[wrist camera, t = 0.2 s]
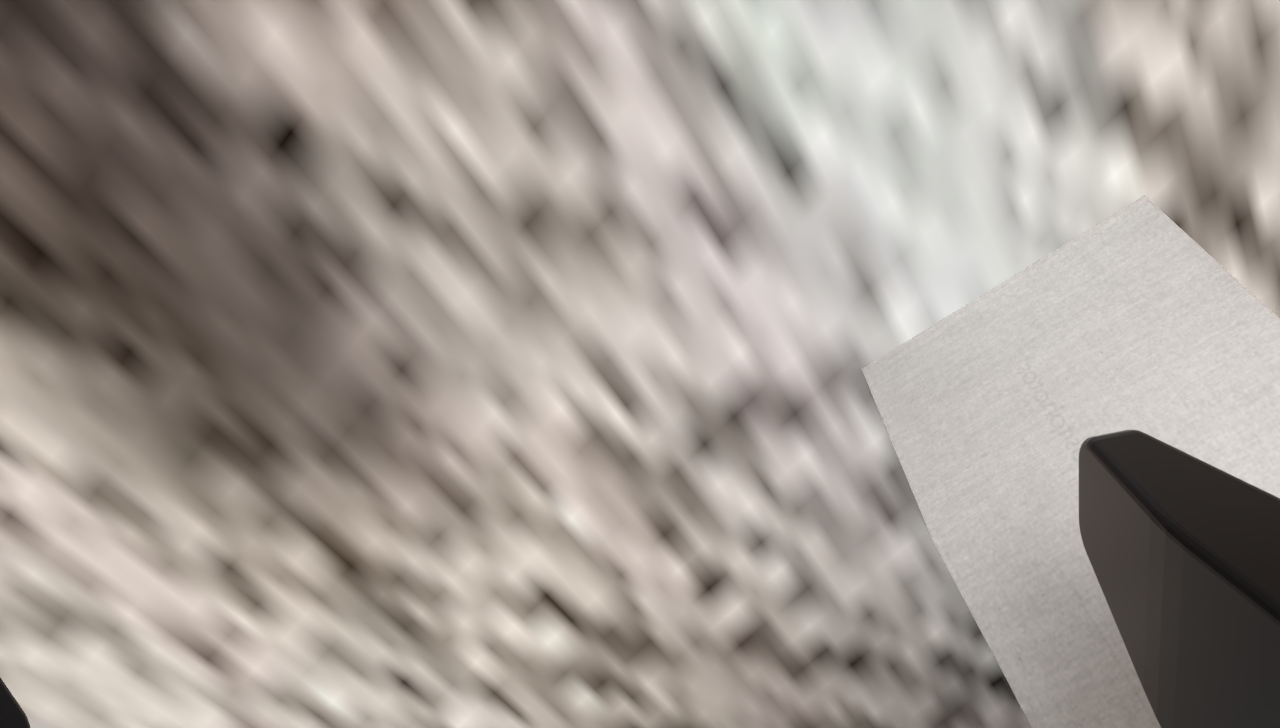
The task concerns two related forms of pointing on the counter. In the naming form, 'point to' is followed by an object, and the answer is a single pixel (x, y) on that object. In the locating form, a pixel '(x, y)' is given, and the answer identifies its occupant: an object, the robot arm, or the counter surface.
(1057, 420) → the tea bag
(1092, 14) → the counter surface
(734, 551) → the counter surface
